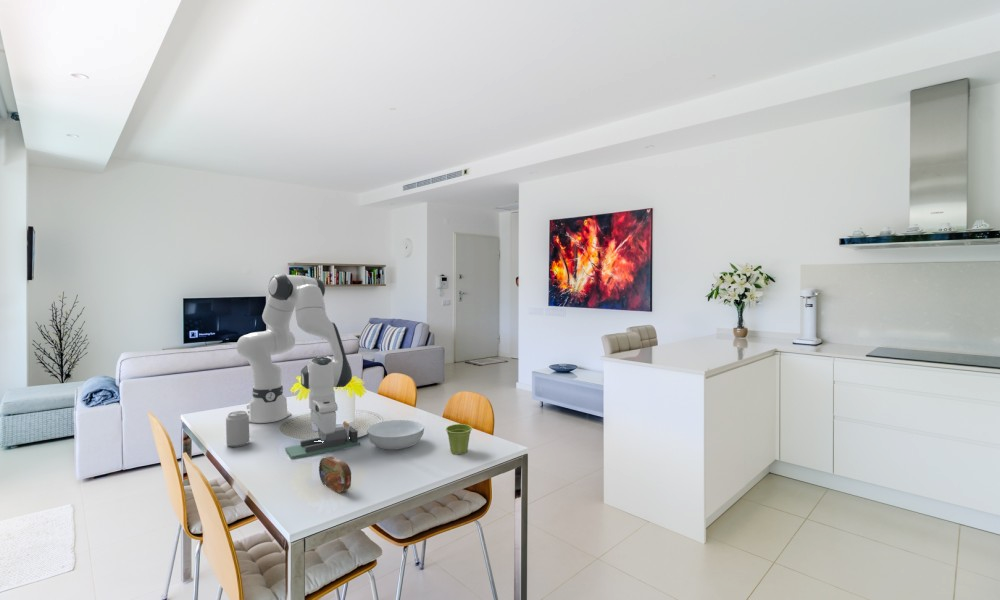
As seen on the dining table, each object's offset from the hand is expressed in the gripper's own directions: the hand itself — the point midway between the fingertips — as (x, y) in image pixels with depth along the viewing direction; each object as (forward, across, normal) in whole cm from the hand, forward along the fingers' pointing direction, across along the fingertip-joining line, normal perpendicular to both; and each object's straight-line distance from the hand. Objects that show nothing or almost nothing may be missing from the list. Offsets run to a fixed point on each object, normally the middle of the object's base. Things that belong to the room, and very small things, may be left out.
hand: (322, 439), depth 170 cm
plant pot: (+4, +32, +39) cm, 51 cm away
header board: (+3, 0, 0) cm, 3 cm away
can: (+3, -22, -25) cm, 33 cm away
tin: (+4, +35, -6) cm, 36 cm away
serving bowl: (+4, +13, +23) cm, 27 cm away
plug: (+2, 0, +4) cm, 5 cm away
